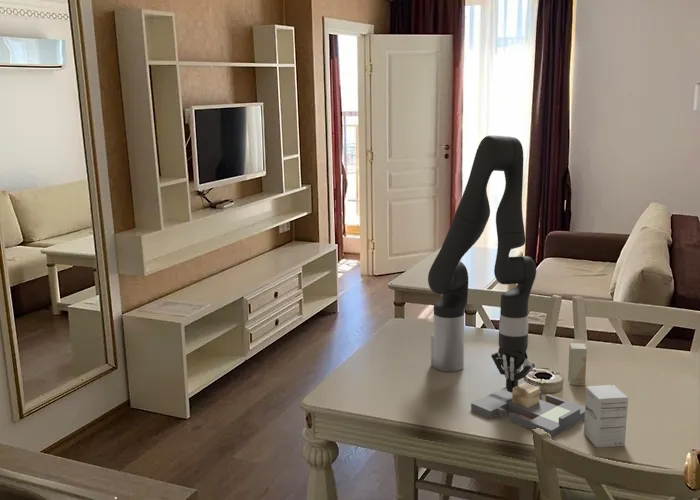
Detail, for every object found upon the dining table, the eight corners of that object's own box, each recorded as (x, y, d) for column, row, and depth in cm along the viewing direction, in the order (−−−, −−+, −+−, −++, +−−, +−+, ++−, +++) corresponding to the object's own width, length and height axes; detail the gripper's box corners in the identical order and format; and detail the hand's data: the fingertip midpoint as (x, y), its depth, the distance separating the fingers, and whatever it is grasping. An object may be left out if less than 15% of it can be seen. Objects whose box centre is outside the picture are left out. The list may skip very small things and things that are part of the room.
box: (585, 386, 197) (587, 349, 195) (569, 385, 198) (571, 348, 195) (583, 378, 202) (584, 343, 200) (567, 377, 203) (569, 342, 200)
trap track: (471, 410, 184) (471, 398, 183) (521, 386, 198) (521, 375, 197) (545, 441, 167) (545, 428, 166) (594, 413, 181) (595, 400, 180)
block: (512, 401, 184) (512, 387, 183) (523, 396, 187) (524, 382, 186) (527, 407, 180) (528, 393, 179) (539, 402, 183) (539, 388, 182)
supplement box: (582, 433, 170) (585, 385, 168) (611, 431, 171) (614, 383, 168) (595, 448, 163) (598, 398, 160) (625, 446, 164) (629, 396, 161)
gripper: (543, 333, 180) (540, 394, 184) (502, 321, 190) (500, 380, 194) (525, 340, 175) (523, 403, 179) (484, 327, 185) (483, 387, 189)
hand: (511, 391), depth 187 cm, fingers closed
